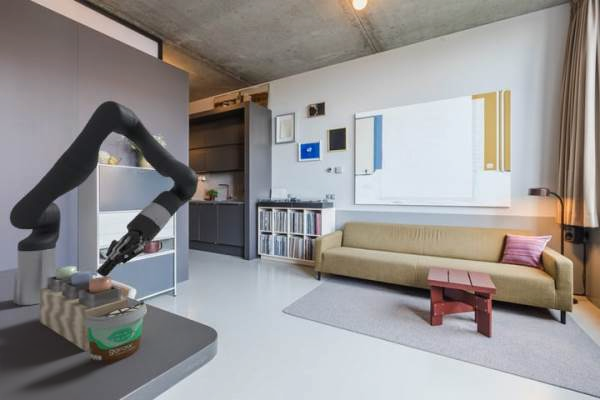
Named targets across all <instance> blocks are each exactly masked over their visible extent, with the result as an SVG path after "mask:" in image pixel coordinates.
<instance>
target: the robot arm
mask: <svg viewBox="0 0 600 400" xmlns="http://www.w3.org/2000/svg"><path fill="white" fill-rule="evenodd" d="M87 121H88V122H86V124H85V126H84V127H83V129H82V130H81V132H80V133H79V134H78V136H77V137H76V138H75V139H74V141H72V143H71V144H70V145H69V147H68V148H67V149H66V150H65V151H64V152H63V153H62V154H61V156H60V157H59V158H58V159H57V160H56V161H55V163H54V164H53V166H52V167H51V168H50V169H49V171H47V173H45V175H44V176H43V177H42V178H41V179H40V180H39V182H38V183H37V184H36V185H35V186H34V187H33V188H31V190H29V191H28V192H27V194H24V196H23V197H22V198H20V200H18V202H16V204H14V205H13V207H12V209H11V211H10V214H9V221H10V224H11V225H12V226H13V227H14V228H15V229H19V230H31V232H30V234H29V235H28V236H27V237H25V238H23V239H21V240H19V242H17V257H16V258H17V263H16V264H17V270H16V273H14V275H13V304H16V305H18V306H32V305H38V304H40V289H43V288H47V278H48V277H54V276H56V269H57V266H56V265H57V262H56V259H57V254H56V253H57V242H58V240H59V238H60V231H61V219H62V218H61V215H62V214H61V210H60V208H59V206H58V205H57V204H56V203H55V201H56V200H58V198H60V197H62V196H64V195H65V194H67V193H68V192H69V193H70V192H71V191H73V190H74V189H76V188H78V187H79V186H80V185H83V184H84V182H85V181H87V179H89V177H90V175H92V174H93V172H95V169H96V168H97V167H98V163H99V157H100V150H101V147H102V144H103V143H104V142H105V140H106V139H107V138H108V137H109V136H110V135H111V134H112V133H115V134H118V135H122V136H124V138H127V140H129V141H131V142H132V143H133V144H135V146H136V147H137V148H138V150H139V151H140V153H141V155H142V157H143V158H144V160H145V161H146V162H147V163H148V164H149V165H150V166H151V168H153V169H154V170H155V171H156V172H157V173H158V175H160V176H162V177H164V178H170V179H171V180H172V181H173V186H172V188H170V190H164V191H161V192H160V193H159V194H158V195H157V196H156V197H155V198H154V199H153V200H152V201H151V202H150V203H149V204H148V205H146V206H145V207H144V208H142V210H140V212H139V213H138V214H137V215H136V216H135V217H133V219H132V220H131V221H130V222H129V223H127V224H126V229H127V232H126V233H125V234H124V235H123V236H122V237H121V238H119V240H117V239H113V240H112V241H111V243H110V244H109V247H108V249H107V250H106V253H105V256H106V260H105V261H104V262H103V263H102V264H101V265H100V266H99V267H98V269H96V273H97V274H98V275H99V276H100V277H108V275H109V274H110V273H111V272H112V271H113V270H114V269H115V268H116V267H117V266H118V265H120V264H121V263H122V264H123V265H124V264H126V263H128V262H130V261H131V260H132V259H134V258H136V257H137V256H139V255H141V254H142V253H144V251H145V249H144V248H143V246H144V244H145V243H151V242H153V240H154V239H155V238H156V237H157V236H158V234H159V233H160V232H161V231H162V230H163V229H164V228H165V226H166V225H167V224H168V223H169V221H170V220H171V218H172V217H173V216H174V215H175V214H176V212H177V211H178V210H179V209H180V208H181V207H183V206H184V205H186V204H187V203H188V202H189V201H190V200H191V199H193V198H194V196H195V194H196V193H197V190H198V183H199V177H198V175H197V173H196V172H195V170H193V169H192V168H191V167H190V166H188V165H186V164H184V163H183V162H182V161H180V160H178V159H176V158H175V156H174V155H173V154H171V152H170V151H168V150H167V149H166V148H165V147H164V146H163V145H162V144H161V143H160V142H159V141H158V140H157V139H156V138H155V137H154V136H153V135H152V134H151V132H150V131H149V130H148V129H147V128H146V126H145V125H144V123H143V122H142V121H141V119H140V118H139V117H138V115H137V114H136V113H135V111H133V110H132V109H130V108H128V107H127V106H125V105H123V104H120V103H119V102H116V101H114V100H113V101H112V100H108V101H104V102H102V103H101V104H100V105H98V107H97V108H96V109H95V111H94V112H93V113H92V115H91V117H90V118H89V120H87Z"/></svg>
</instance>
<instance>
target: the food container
mask: <svg viewBox="0 0 600 400" xmlns="http://www.w3.org/2000/svg"><path fill="white" fill-rule="evenodd" d="M147 312H148V310H147V305H146V303H145V300H144V299H141V300H140V303H138V304H134V305H131V306H128V307H126V308H120V309H116V310H113V311H111V312H109V313H107V314H104V315H101V316H98V317H90V316H87V318H86V319H85V322H84V327H87V328H88V336H89V345H90V350H89V351H90V353H89V354H90V361H91V362H93V363H94V364H109V363H115V362H119V361H122V360H124V359H125V360H126V359H127V358H129V357H131V356H133V355H134V354H135V353H137V352H138V350H139V349H140V345H141V339H142V337H141V336H142V329H143V320H144V316H145V315H146V314H147Z"/></svg>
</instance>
